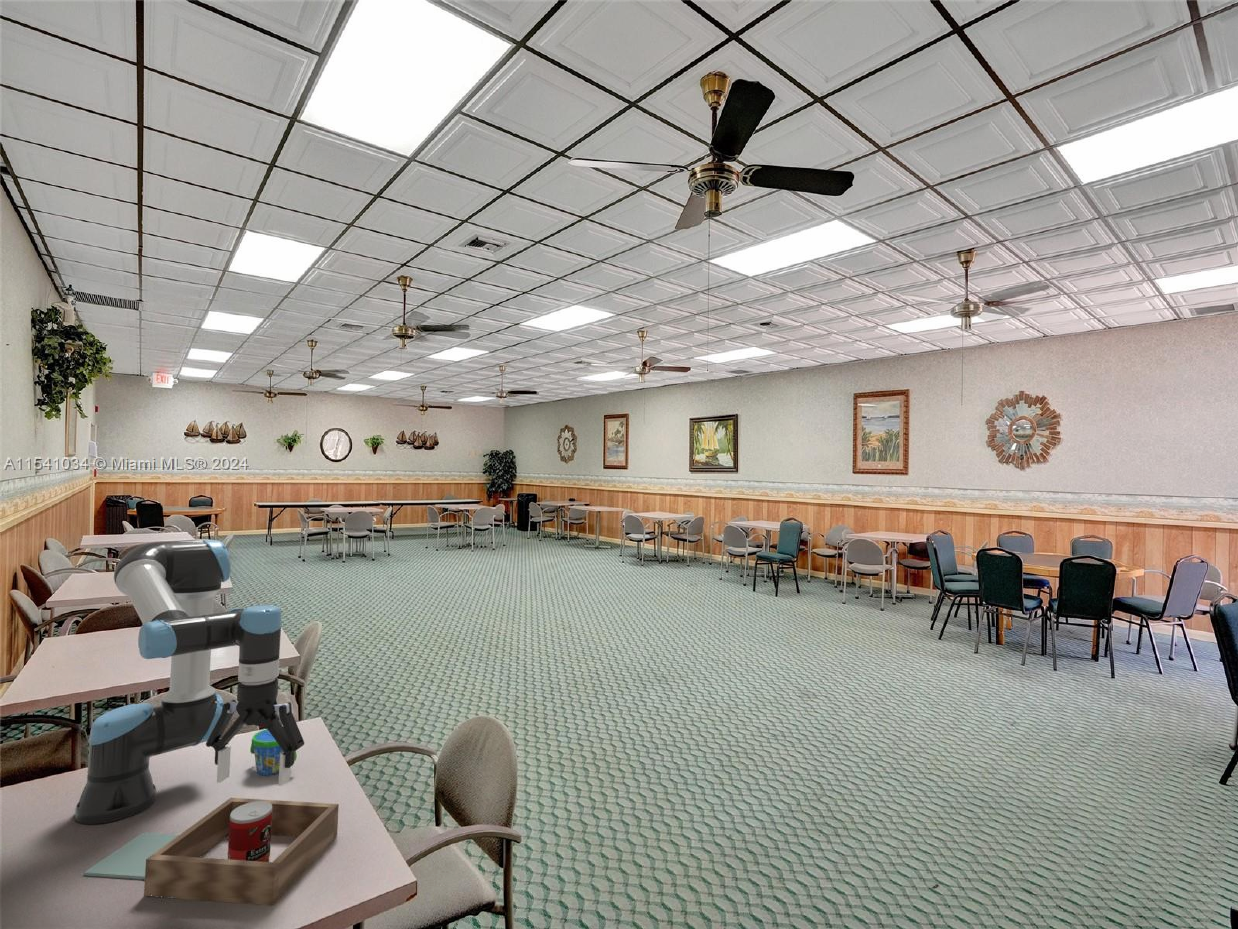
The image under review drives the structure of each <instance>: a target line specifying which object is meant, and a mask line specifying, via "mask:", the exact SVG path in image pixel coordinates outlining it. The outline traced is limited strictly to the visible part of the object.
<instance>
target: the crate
mask: <svg viewBox="0 0 1238 929" xmlns="http://www.w3.org/2000/svg"><path fill="white" fill-rule="evenodd" d="M256 801H265V802H269V803H271V805H272V829H271V836H280V837H281V836H283V837H295V840H293V841H292V842H291V843H290V844H289V845H288V846H287V847H286V848H285V849H284V850H283V851H282V852H281V853H280V854H279V855H278V856H277V857H276V858H275V859H274V860H273V861H272V862H271V861H267V862H260V861H245V860H230V859H228V858H225V859H224V858H213V857H212V858H210V857H203V856H204V855H205V854H206V853H207V852H208V851H210V850H211V849H212V848H214V847H215V846H216V845H217V844H218V843H219V842H221V841H222V840H223V839H225V837H227V836H229V822H230V814H231V812H232V811H233V810H234V809H236V808H237V807H239V806H241V805H244V804H246V803H250V802H256ZM338 824H339V803H330V802H329V803H326V802H311V801H310V802H309V801H296V800H295V801H293V800H278V799H276V800H274V799H259V798H243V797H242V798H241V797H230V798H229V799H228V798H227V800H226V801H224V802H223V803H222V804H220V805H219V806H217V807H216V808H215V809H213V810H212V811H211V812H209V813H208V814H206V815H205V816H204V817H202V818H200V819H199V820H198V821H197V822H195V823H194V824H193V825H190V827H188V828H187V829H186V830H184V831H183V832H181V833H180V834H178V835H179V836H177V837H176V838H175V839H173V840H172V841H170V842H169V843H168V844H166V845H165V846H164V847H162V848H161V849H159V850H158V851H157V852H155V853H154V854H153V855H151V856H150V857H148V858H147V859H146V868H145V880H144V886H143V887H144V889H143V897H147V896H151V895H152V896H158V897H157V898H162V897H173V898H172V899H176V898H180V899H179V900H192V901H193V900H194V901H205V902H208V901H209V902H220V903H233V904H234V903H235V904H247V903H250V904H249V905H261V906H262V905H264V906H274V905H275V903H277V901H278V900H279V899H281V897H282V896H283V895H284V894H285V893H286V892H287V890H289V888H291V886H292V885H293V884H294V883H295V882H296V881H297V880H298V879H299V877H300V876H301V875H302V874H303V873H304V872H305V871H306V870H307V869H308V868H309V867H310V865H311V864H312V863H313V862H314V861H315V860H316V859H317V858H318V857H319V856H318V855H321V854H322V852H323V851H324V850H325V849H326V848H327V847H328V846H329V845H330V844H331V842H332V841H334V839H335V838H336V837H337V836H338V829H339V825H338ZM336 835H337V836H336ZM335 836H336V837H335ZM296 837H297V838H296ZM333 838H334V839H333ZM329 843H330V844H329ZM214 845H215V846H214ZM327 845H328V846H327ZM209 849H210V850H209ZM205 852H206V853H205ZM204 853H205V854H204ZM200 856H201V857H200ZM161 896H162V897H161Z"/></svg>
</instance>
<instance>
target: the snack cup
mask: <svg viewBox="0 0 1238 929" xmlns="http://www.w3.org/2000/svg"><path fill="white" fill-rule="evenodd" d="M282 752H284V751H283V750H282V748H281V747H280V746H279V744H278V743H277V742H276V740H275V739H274V737H273V736H272V735H271V733H270V732H269V731H268V729H265V728H264V729H263V730H260V731H258V732H257V733H254V734H253V736H252V738H251V745H250V754H251V755H252V754H253V755H254V759H255V769H256V774H258V775H260V776H265V777H269V776H276V775H279V766H280V754H281V753H282ZM296 760H297V750H296V751H295V755H294V763H295V761H296Z"/></svg>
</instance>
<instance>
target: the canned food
mask: <svg viewBox="0 0 1238 929" xmlns="http://www.w3.org/2000/svg"><path fill="white" fill-rule="evenodd" d="M271 829H272V805H271V803H269V802H265V801H256V802H250V803H246V804H244V805H241V806H239V807H237V808H236V809H234V810H233V811H232V812H231V814H230V822H229V834H228V844H227V859H230V860H245V861H260V862H269V859H270V857H271V856H270V855H271V846H272V843H271V842H272V835H271Z"/></svg>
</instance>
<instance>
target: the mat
mask: <svg viewBox="0 0 1238 929" xmlns="http://www.w3.org/2000/svg"><path fill="white" fill-rule="evenodd" d="M179 835H180V834H171V833H159V832H157V833H156V832H142V833H141V834H139V835H137V836H136V837H133V839H131V840H130V841H128V842H127V843H126V844H124V845H122V846H121V847H120V848H117V849H116V850H115V851H113V852H112V853H111V854H109V855H108V856H106V857H104V858H103V859H101V860H100V861H98V862H97V863H96V864H94V865H93V866H90V868H88V869H87V870H85V871H83V876H86V877H87V876H88V877H100V878H114V879H128V880H129V879H130V878H131V879H130V880H143V879H145V868H146V859H147V858H148V857H150V856H151V855H153V854H154V853H155V852H157V851H158V850H159V849H161V848H162V847H164V846H165V845H166V844H168V843H169V842H170V841H172V840H173V839H175V838H176V837H177V836H179ZM134 878H135V879H134Z"/></svg>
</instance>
